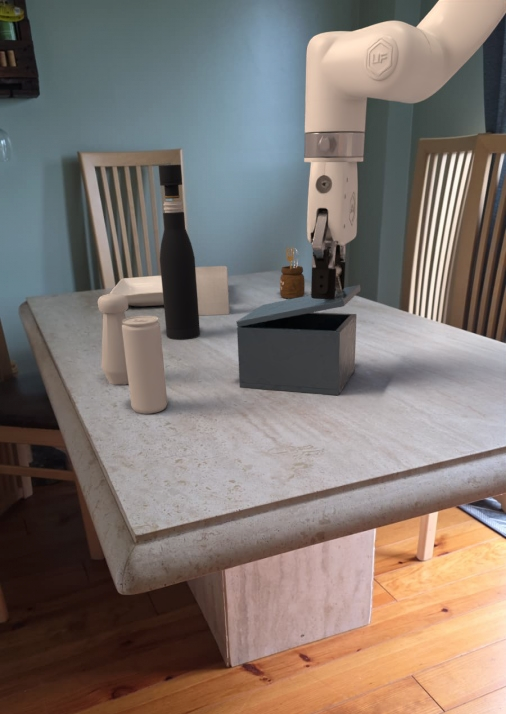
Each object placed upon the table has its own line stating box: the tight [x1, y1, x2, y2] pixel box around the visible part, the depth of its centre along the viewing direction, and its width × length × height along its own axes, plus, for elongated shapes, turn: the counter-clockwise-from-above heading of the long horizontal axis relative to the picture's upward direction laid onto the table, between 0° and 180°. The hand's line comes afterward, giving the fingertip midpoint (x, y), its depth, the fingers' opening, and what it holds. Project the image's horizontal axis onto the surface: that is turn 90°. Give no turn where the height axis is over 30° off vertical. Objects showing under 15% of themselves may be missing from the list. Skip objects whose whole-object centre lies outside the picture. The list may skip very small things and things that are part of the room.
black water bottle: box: [158, 164, 201, 340], centre depth 114 cm, size 6×6×30 cm
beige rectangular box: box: [195, 265, 230, 316], centre depth 136 cm, size 4×7×10 cm, turn 90°
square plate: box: [109, 275, 164, 307], centre depth 156 cm, size 27×27×4 cm
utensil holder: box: [279, 246, 306, 300], centre depth 150 cm, size 6×6×12 cm
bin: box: [236, 311, 357, 396], centre depth 91 cm, size 15×12×9 cm
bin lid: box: [236, 263, 361, 327], centre depth 88 cm, size 15×12×5 cm
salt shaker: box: [97, 293, 129, 386], centre depth 93 cm, size 6×6×13 cm
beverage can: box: [122, 315, 168, 415], centre depth 81 cm, size 5×5×12 cm
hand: (328, 293), depth 86 cm, fingers closed on bin lid, 5 cm apart
